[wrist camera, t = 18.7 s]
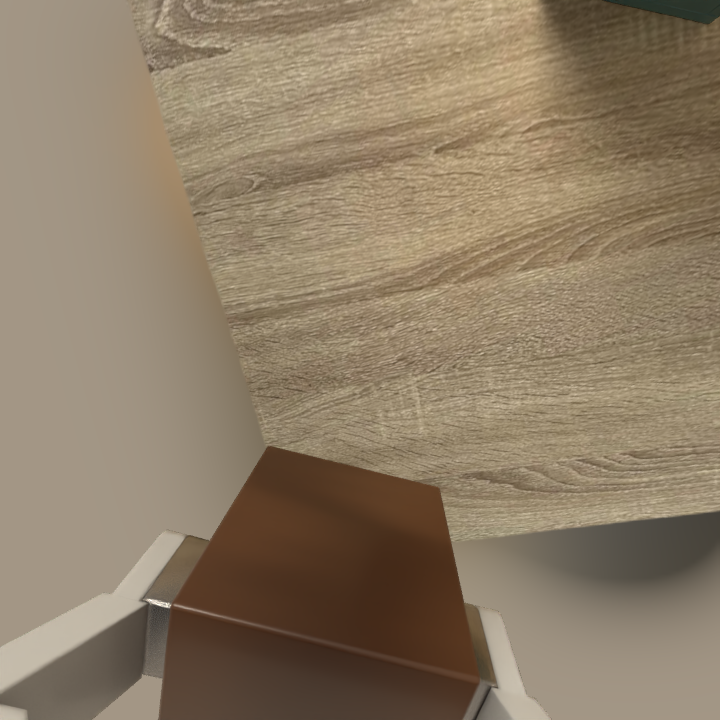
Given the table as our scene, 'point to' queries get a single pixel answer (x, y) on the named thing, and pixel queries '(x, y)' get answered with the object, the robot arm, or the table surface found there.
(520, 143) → the table surface
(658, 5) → the teal open-top bin
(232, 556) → the block
